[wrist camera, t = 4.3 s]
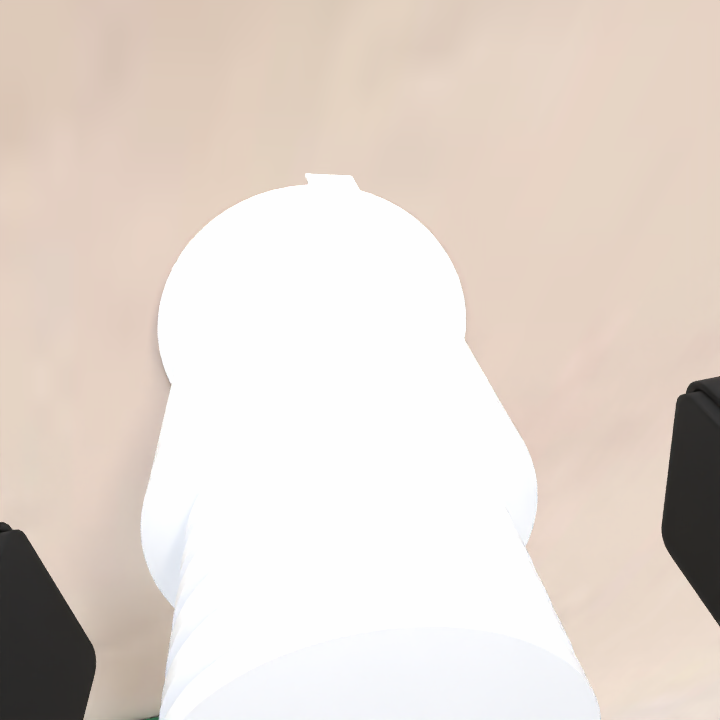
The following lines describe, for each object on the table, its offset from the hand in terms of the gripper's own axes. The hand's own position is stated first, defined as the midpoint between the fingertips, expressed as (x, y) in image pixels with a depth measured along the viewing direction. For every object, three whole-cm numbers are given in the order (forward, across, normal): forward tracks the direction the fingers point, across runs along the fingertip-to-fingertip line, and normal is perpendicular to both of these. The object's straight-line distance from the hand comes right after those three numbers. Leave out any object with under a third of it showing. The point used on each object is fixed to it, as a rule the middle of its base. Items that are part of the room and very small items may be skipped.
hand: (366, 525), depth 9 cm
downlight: (+7, 0, 0) cm, 7 cm away
